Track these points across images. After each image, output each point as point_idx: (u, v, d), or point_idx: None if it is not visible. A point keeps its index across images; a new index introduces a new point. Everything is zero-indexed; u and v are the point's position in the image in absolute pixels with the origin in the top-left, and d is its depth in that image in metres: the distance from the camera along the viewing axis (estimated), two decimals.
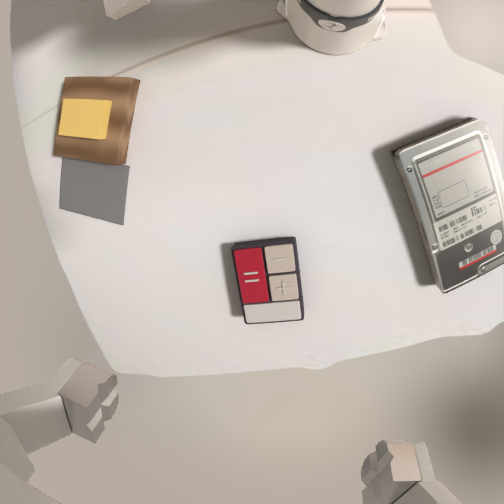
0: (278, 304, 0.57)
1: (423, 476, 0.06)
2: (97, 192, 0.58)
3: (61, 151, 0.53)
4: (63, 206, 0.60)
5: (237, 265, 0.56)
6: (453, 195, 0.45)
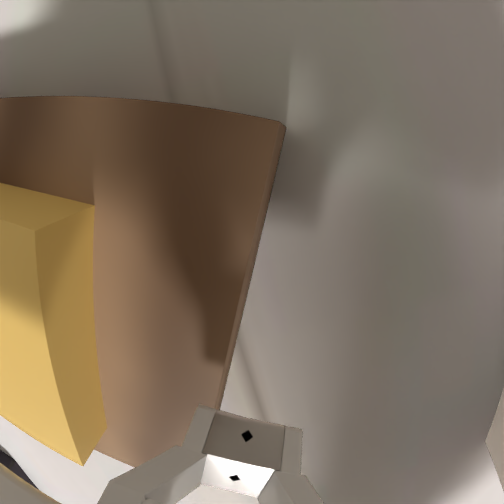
0: None
1: (284, 466, 0.06)
2: None
3: None
4: None
5: None
6: None
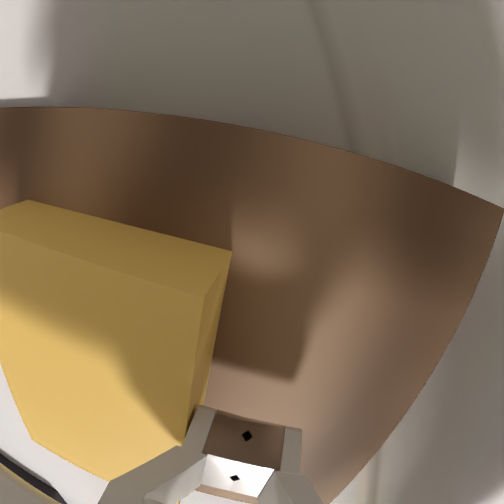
0: None
1: (283, 466, 0.06)
2: None
3: (8, 173, 0.08)
4: None
5: None
6: None
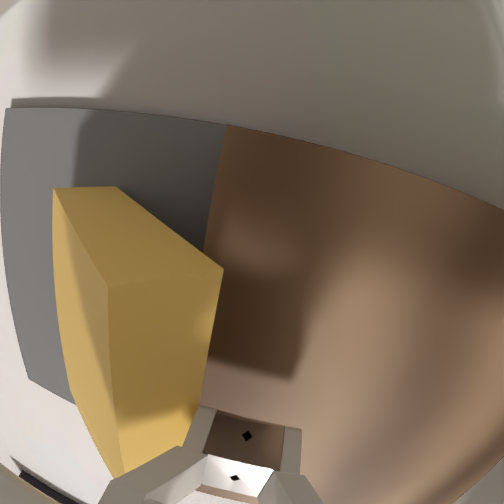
0: None
1: (283, 466, 0.06)
2: None
3: (247, 226, 0.08)
4: (10, 132, 0.11)
5: None
6: None
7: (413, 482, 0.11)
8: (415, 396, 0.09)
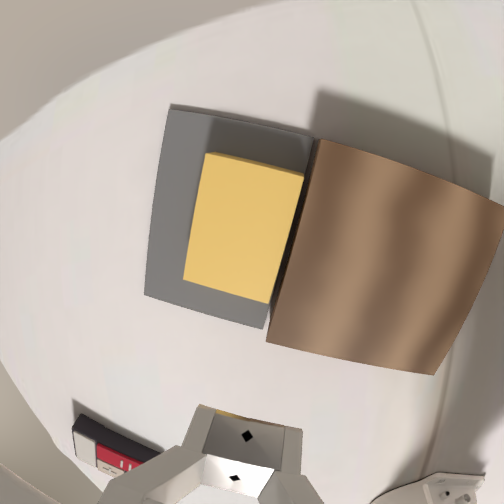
0: (93, 458, 0.39)
1: (284, 466, 0.06)
2: None
3: (327, 175, 0.21)
4: (173, 124, 0.24)
5: None
6: None
7: (407, 332, 0.23)
8: (397, 258, 0.22)
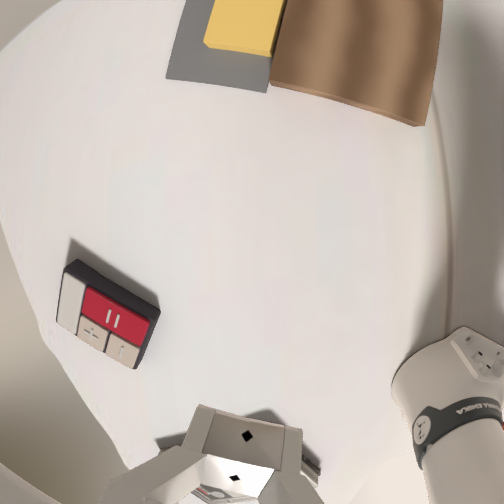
0: (76, 316, 0.41)
1: (284, 466, 0.06)
2: None
3: None
4: None
5: (130, 315, 0.40)
6: None
7: (386, 73, 0.26)
8: (362, 15, 0.24)
